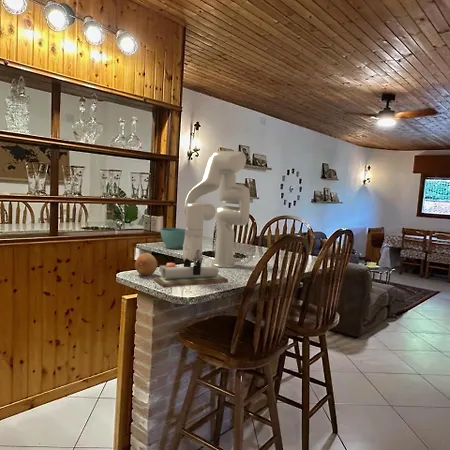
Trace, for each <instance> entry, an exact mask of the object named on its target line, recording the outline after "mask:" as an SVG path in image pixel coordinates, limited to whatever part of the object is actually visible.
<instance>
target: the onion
mask: <svg viewBox="0 0 450 450" xmlns="http://www.w3.org/2000/svg"><path fill="white" fill-rule="evenodd" d="M134 262H135V263H134V269H135V270H136V272H137V273H138V274H139V275H142V276H150V275H152V274H154V273H155V272H156V270H157V268H158V261H157V259H156V257H155V256H154V255H152V254H151V253H148V252H144V253H142V254H140V255H139V256H138V257H137V258H136V259H135V261H134Z"/></svg>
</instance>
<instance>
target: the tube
mask: <svg viewBox="0 0 450 450" xmlns="http://www.w3.org/2000/svg"><path fill="white" fill-rule="evenodd" d="M219 272H220V271H219V267H216V266H213V265H212V266H211V265H209V266H201V272H200V275H193V266H191V267H184V266H182V267H181V266H178V267H171V268H165V267H163V269H162V272H161V277H162V278H163V279H164V280H166V279H185V278H207V277H216V276H217V275H219Z"/></svg>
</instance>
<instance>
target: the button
mask: <svg viewBox="0 0 450 450" xmlns="http://www.w3.org/2000/svg"><path fill="white" fill-rule="evenodd" d="M175 265H176V263H175V262H167V263H166V268H171V267H175Z"/></svg>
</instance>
